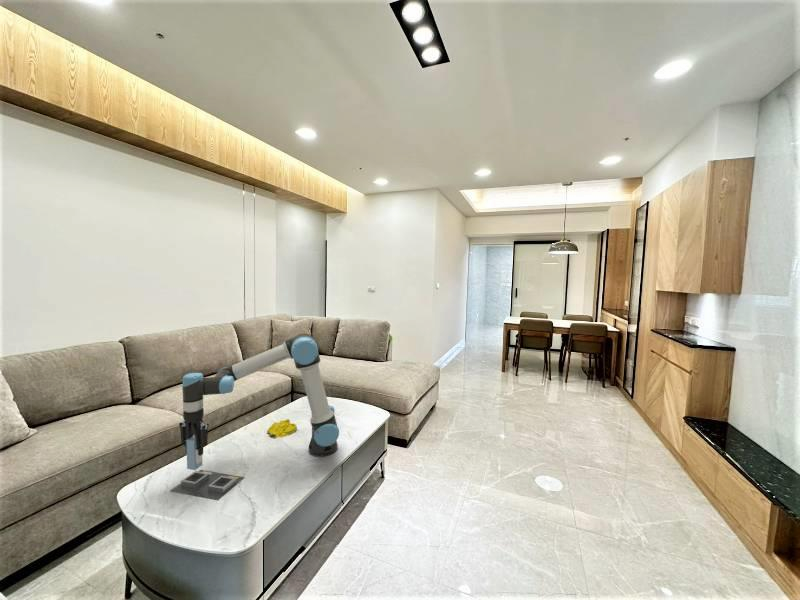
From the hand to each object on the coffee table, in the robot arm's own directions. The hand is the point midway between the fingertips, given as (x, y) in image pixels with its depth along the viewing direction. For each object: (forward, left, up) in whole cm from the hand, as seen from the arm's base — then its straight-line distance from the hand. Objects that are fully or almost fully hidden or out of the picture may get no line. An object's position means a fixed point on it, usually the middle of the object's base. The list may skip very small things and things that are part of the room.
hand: (194, 461), depth 144 cm
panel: (-7, 0, -10) cm, 12 cm away
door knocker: (-8, -55, -11) cm, 56 cm away
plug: (0, 0, -3) cm, 3 cm away
